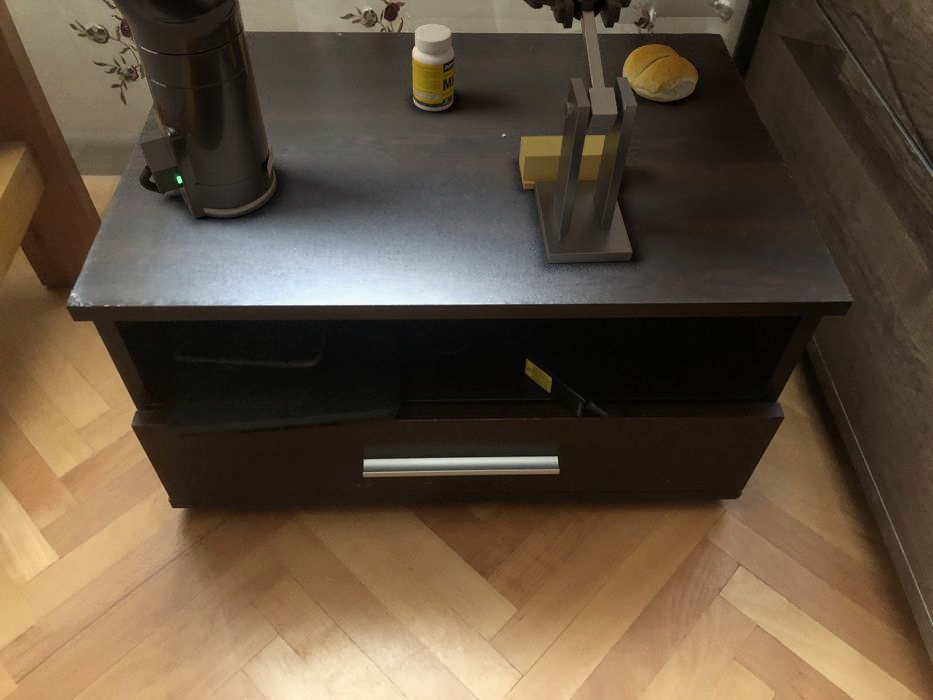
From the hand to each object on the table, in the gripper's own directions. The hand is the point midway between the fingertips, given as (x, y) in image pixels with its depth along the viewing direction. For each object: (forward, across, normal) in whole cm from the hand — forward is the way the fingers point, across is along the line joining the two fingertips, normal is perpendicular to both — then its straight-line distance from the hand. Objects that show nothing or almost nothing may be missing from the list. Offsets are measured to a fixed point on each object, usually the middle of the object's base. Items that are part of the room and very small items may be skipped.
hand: (590, 18), depth 70 cm
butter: (0, 0, +17) cm, 17 cm away
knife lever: (+2, 0, +3) cm, 4 cm away
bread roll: (-17, +14, +17) cm, 27 cm away
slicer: (+8, 0, +17) cm, 19 cm away
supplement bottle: (-14, -14, +17) cm, 26 cm away
